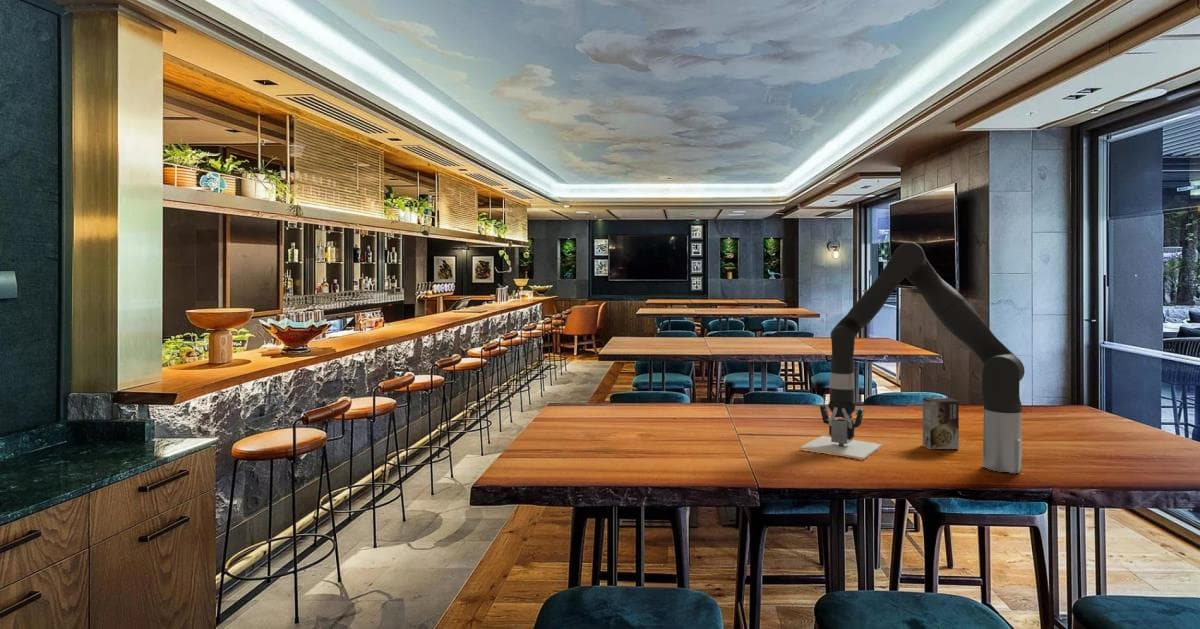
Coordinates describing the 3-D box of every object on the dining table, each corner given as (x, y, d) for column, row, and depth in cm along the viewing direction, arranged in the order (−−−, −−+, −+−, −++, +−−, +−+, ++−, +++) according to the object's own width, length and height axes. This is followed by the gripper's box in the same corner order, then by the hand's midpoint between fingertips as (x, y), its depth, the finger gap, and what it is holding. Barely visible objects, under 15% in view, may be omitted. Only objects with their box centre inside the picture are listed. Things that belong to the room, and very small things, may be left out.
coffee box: (950, 445, 210) (950, 397, 210) (959, 450, 204) (960, 400, 203) (921, 445, 211) (922, 397, 211) (929, 450, 205) (930, 400, 204)
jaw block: (851, 441, 207) (852, 419, 207) (846, 444, 204) (847, 422, 203) (836, 438, 211) (836, 418, 210) (831, 441, 207) (831, 420, 206)
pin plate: (882, 447, 209) (882, 428, 208) (863, 460, 193) (863, 440, 193) (821, 438, 221) (822, 420, 221) (799, 450, 206) (799, 431, 206)
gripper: (868, 387, 205) (867, 439, 205) (824, 383, 214) (823, 432, 214) (861, 390, 199) (860, 443, 200) (815, 386, 208) (815, 437, 209)
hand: (841, 437), depth 207 cm, fingers closed on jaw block, 5 cm apart
